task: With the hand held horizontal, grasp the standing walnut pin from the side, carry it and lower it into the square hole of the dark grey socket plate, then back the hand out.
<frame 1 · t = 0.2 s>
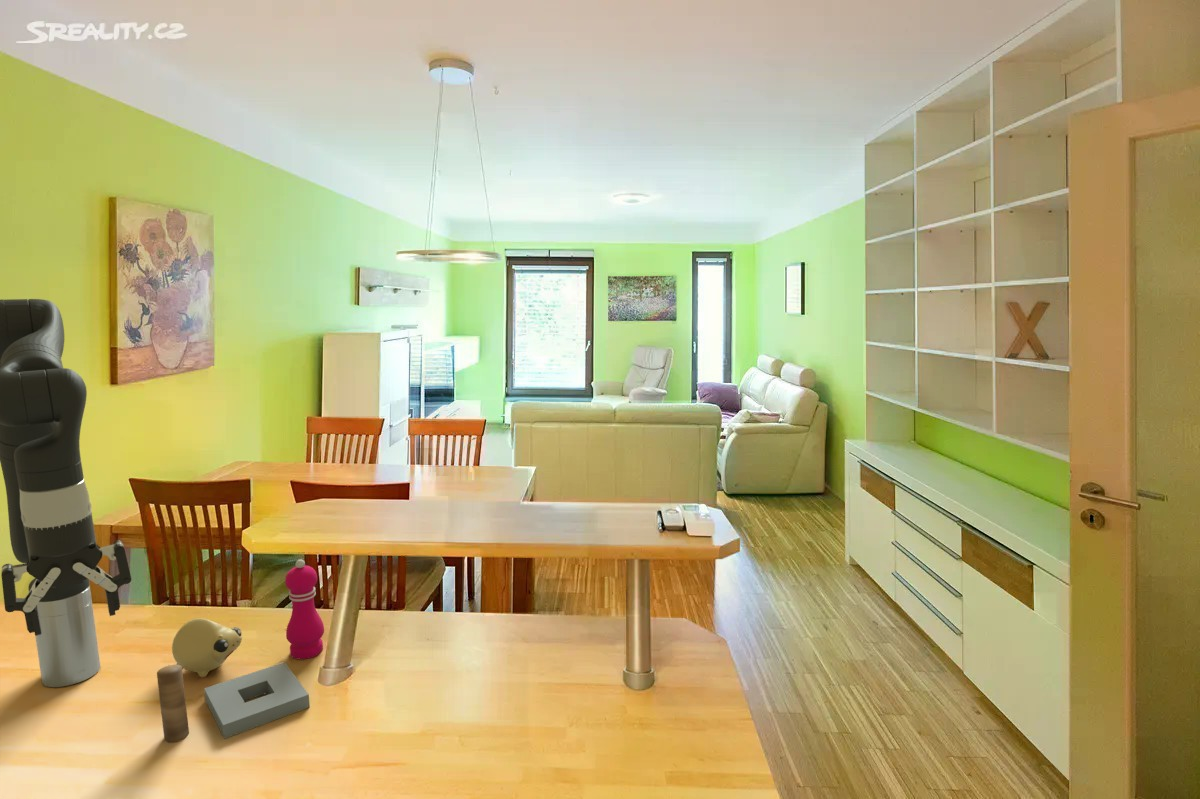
hand: (75, 623, 103), 28 cm above the kitchen counter, tool pointing down, fingers open, 8 cm apart
pin: (176, 735, 123), on the kitchen counter
beige animal figure: (209, 670, 143), on the kitchen counter
pepper mill: (306, 652, 150), on the kitchen counter
socket: (257, 703, 132), on the kitchen counter
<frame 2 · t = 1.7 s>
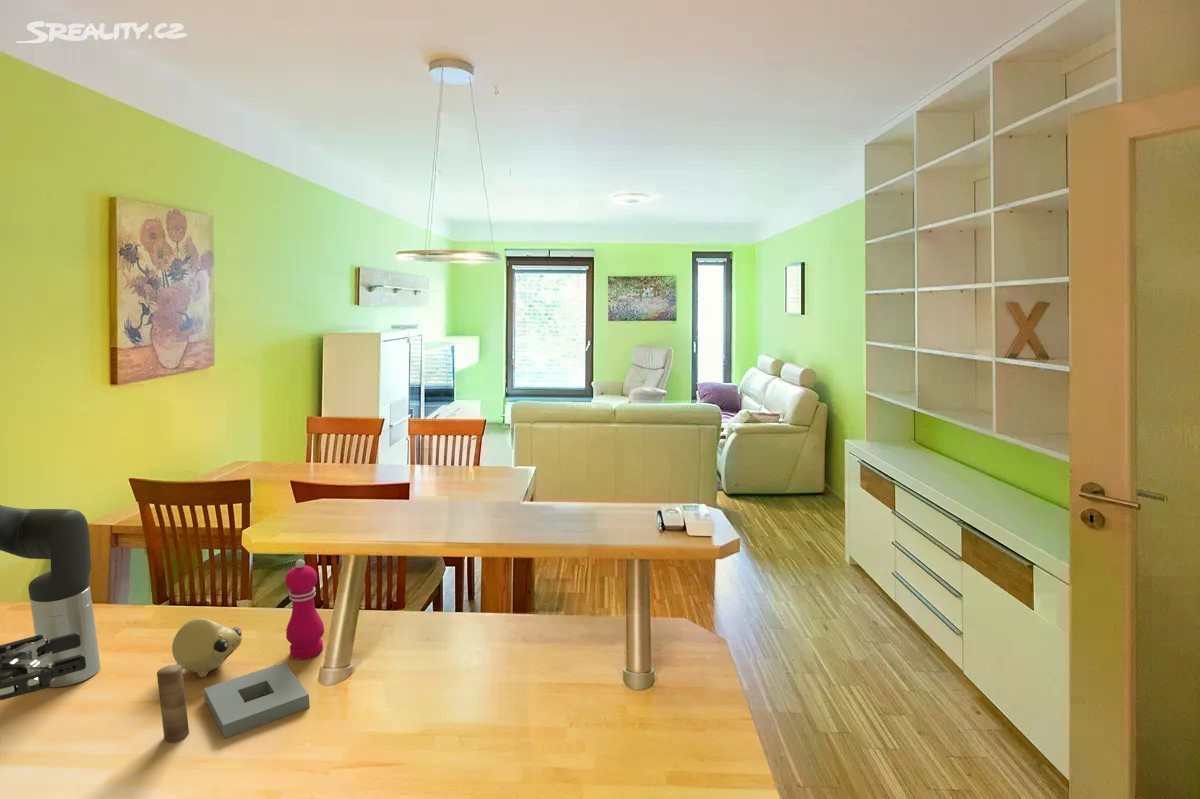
hand: (82, 649, 112), 20 cm above the kitchen counter, tool horizontal, fingers open, 8 cm apart
nothing on the kitchen counter moved.
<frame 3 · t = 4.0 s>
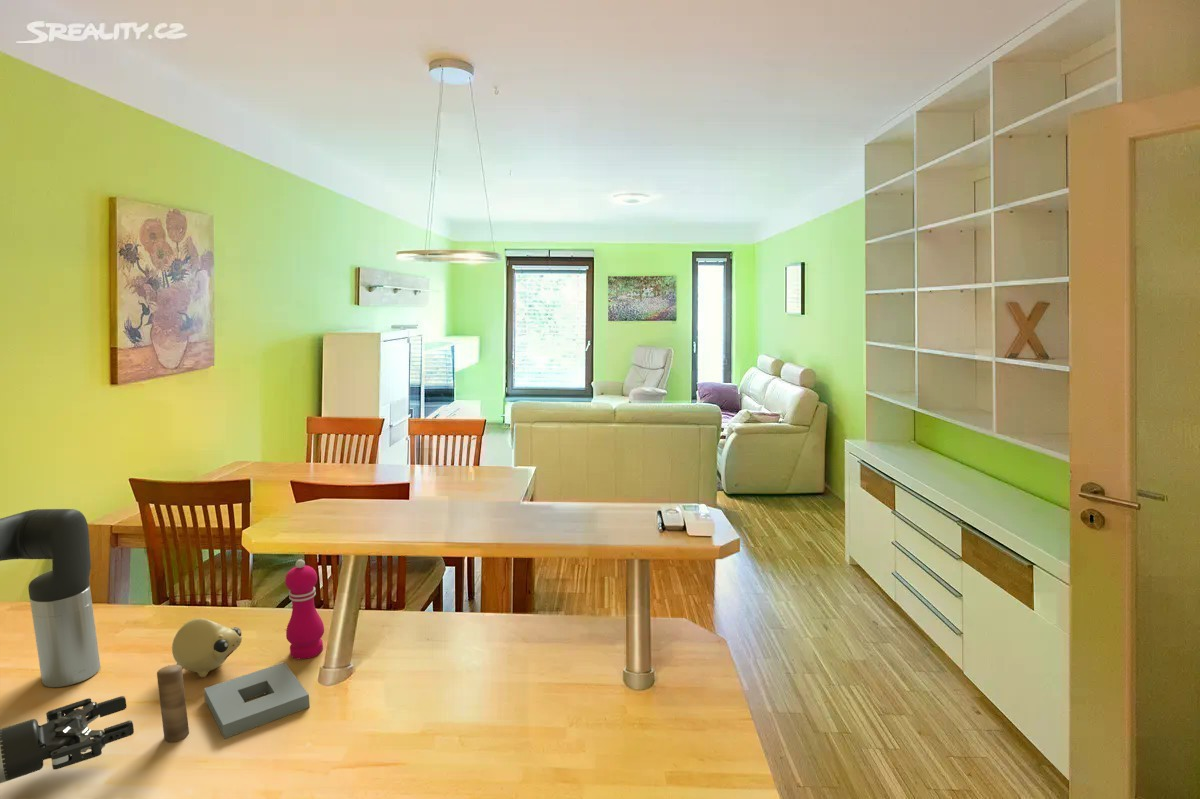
hand: (129, 714, 118), 7 cm above the kitchen counter, tool horizontal, fingers open, 8 cm apart
nothing on the kitchen counter moved.
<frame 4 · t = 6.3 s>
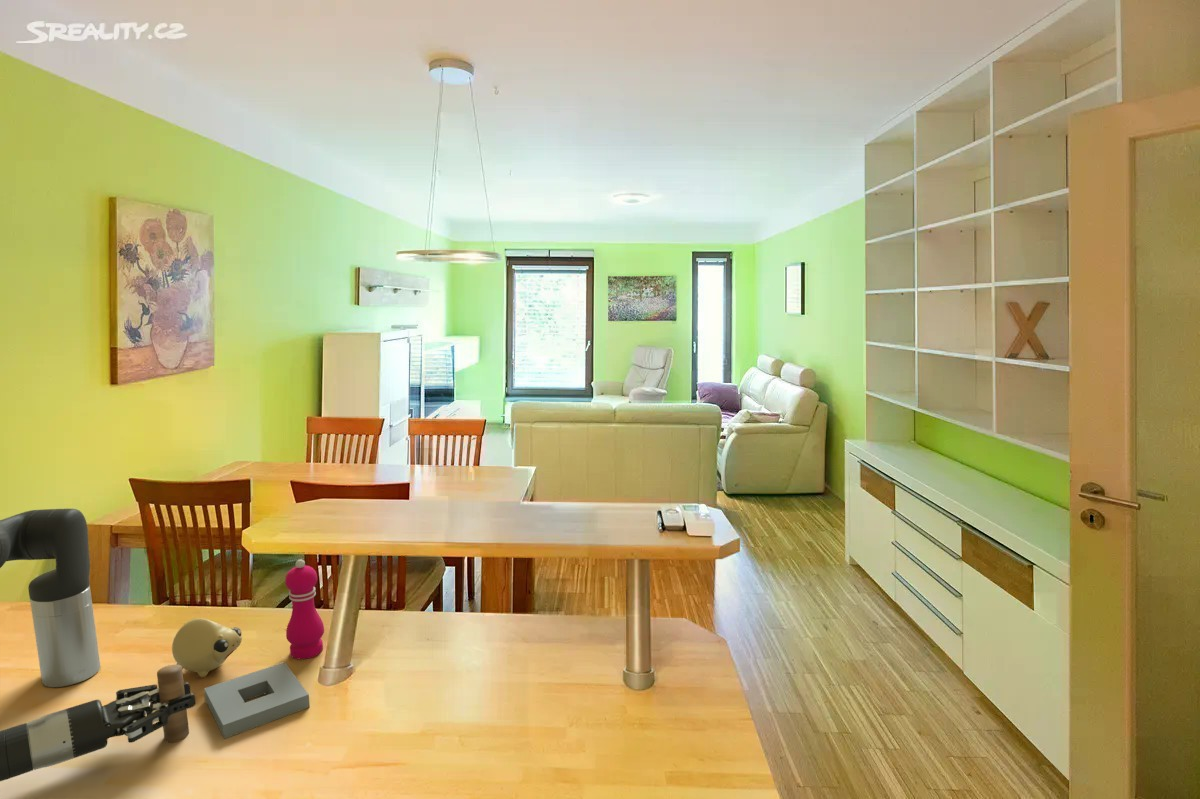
hand: (191, 693, 123), 7 cm above the kitchen counter, tool horizontal, fingers closed on pin, 3 cm apart
pin: (176, 735, 123), on the kitchen counter, touching gripper
everything else where it was.
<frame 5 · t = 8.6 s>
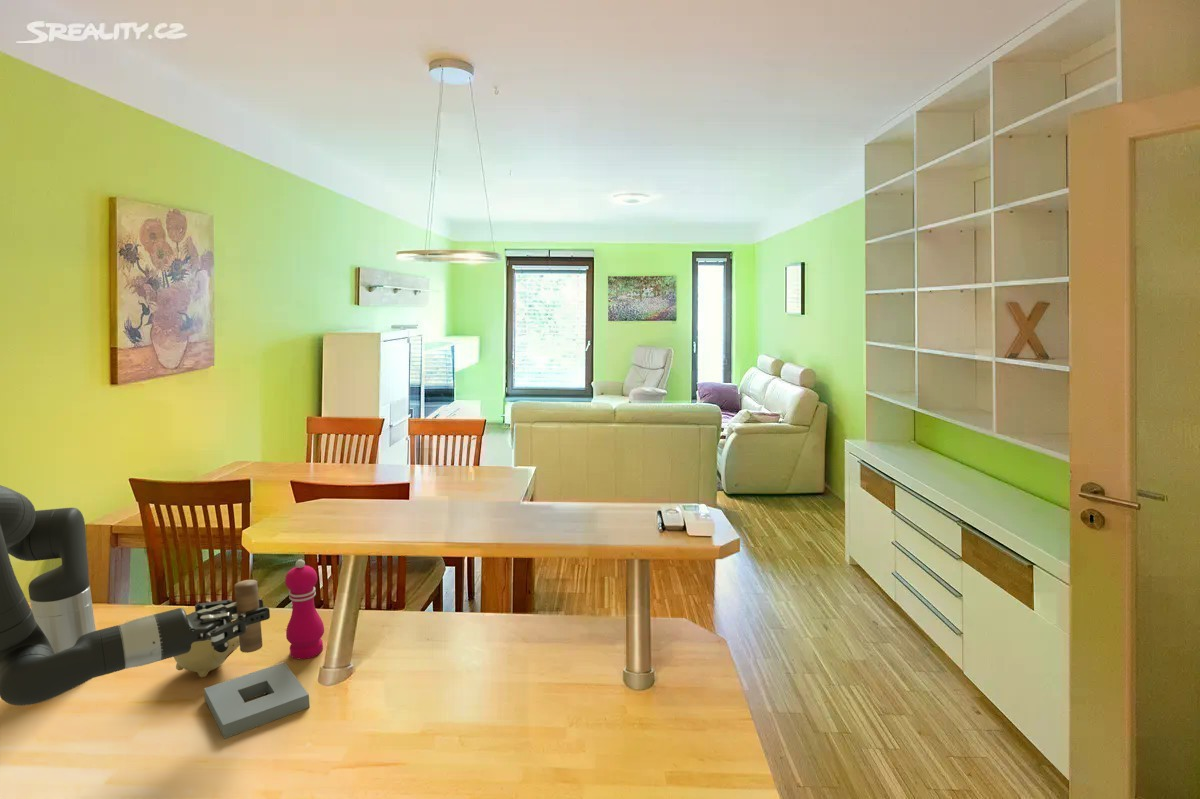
hand: (265, 608, 130), 18 cm above the kitchen counter, tool horizontal, fingers closed on pin, 3 cm apart
pin: (251, 647, 129), point 11 cm above the kitchen counter, touching gripper
everything else where it was.
when the fingers open (8 cm above the kitchen counter, at t = 11.2 s): pin drops 1 cm, resting in socket.
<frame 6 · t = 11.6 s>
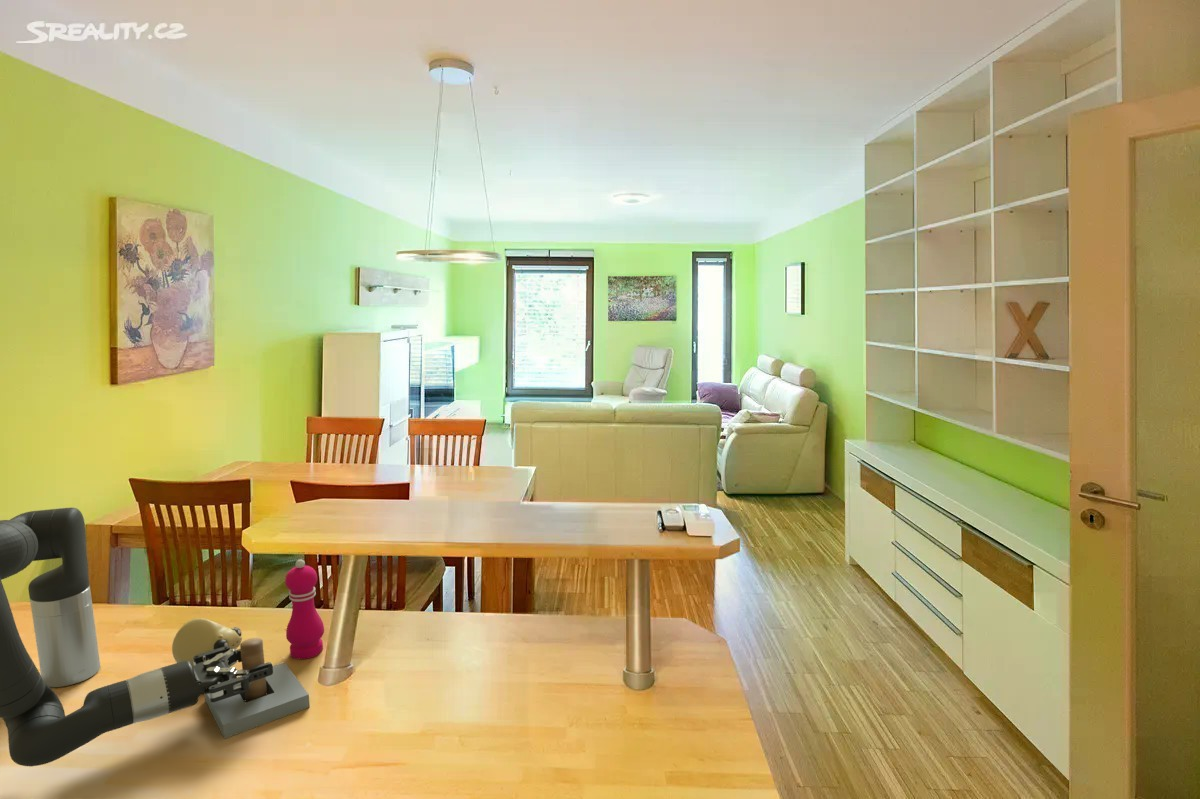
hand: (265, 658, 132), 8 cm above the kitchen counter, tool horizontal, fingers open, 7 cm apart
pin: (256, 704, 132), resting in socket
everything else where it was.
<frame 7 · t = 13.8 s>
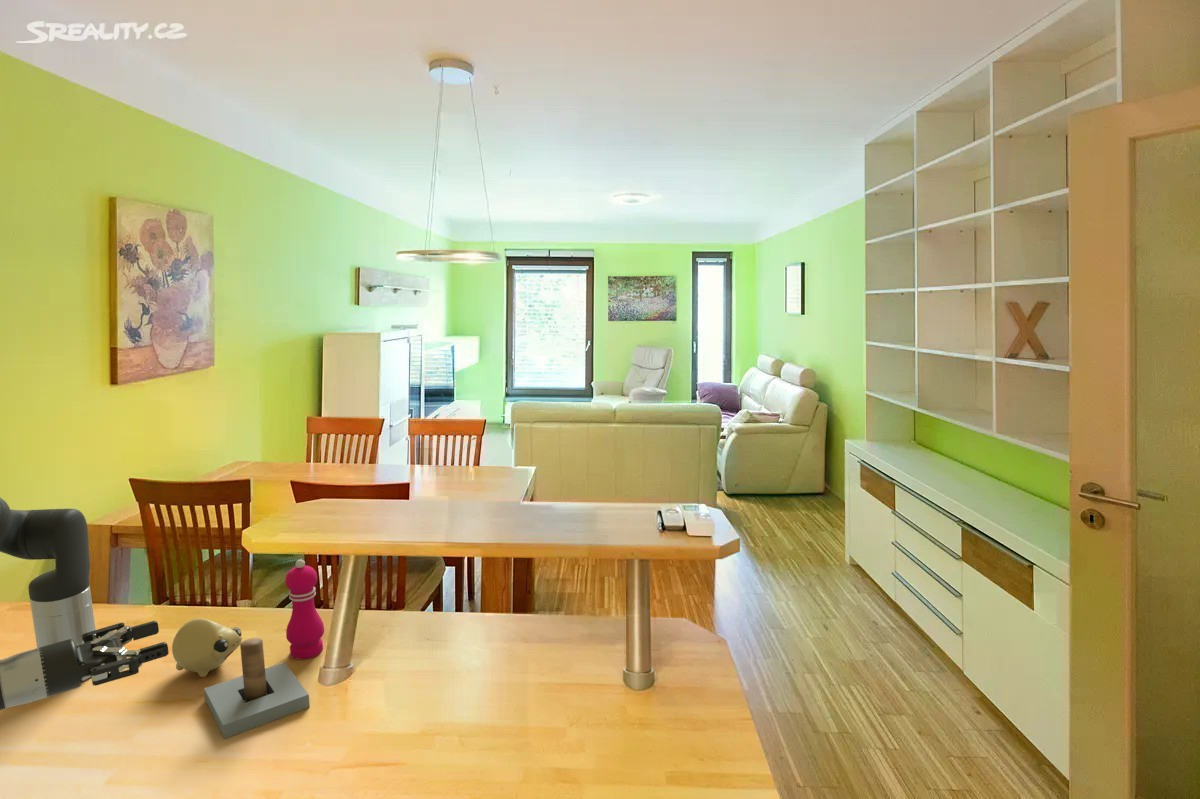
hand: (162, 637, 121), 17 cm above the kitchen counter, tool horizontal, fingers open, 8 cm apart
nothing on the kitchen counter moved.
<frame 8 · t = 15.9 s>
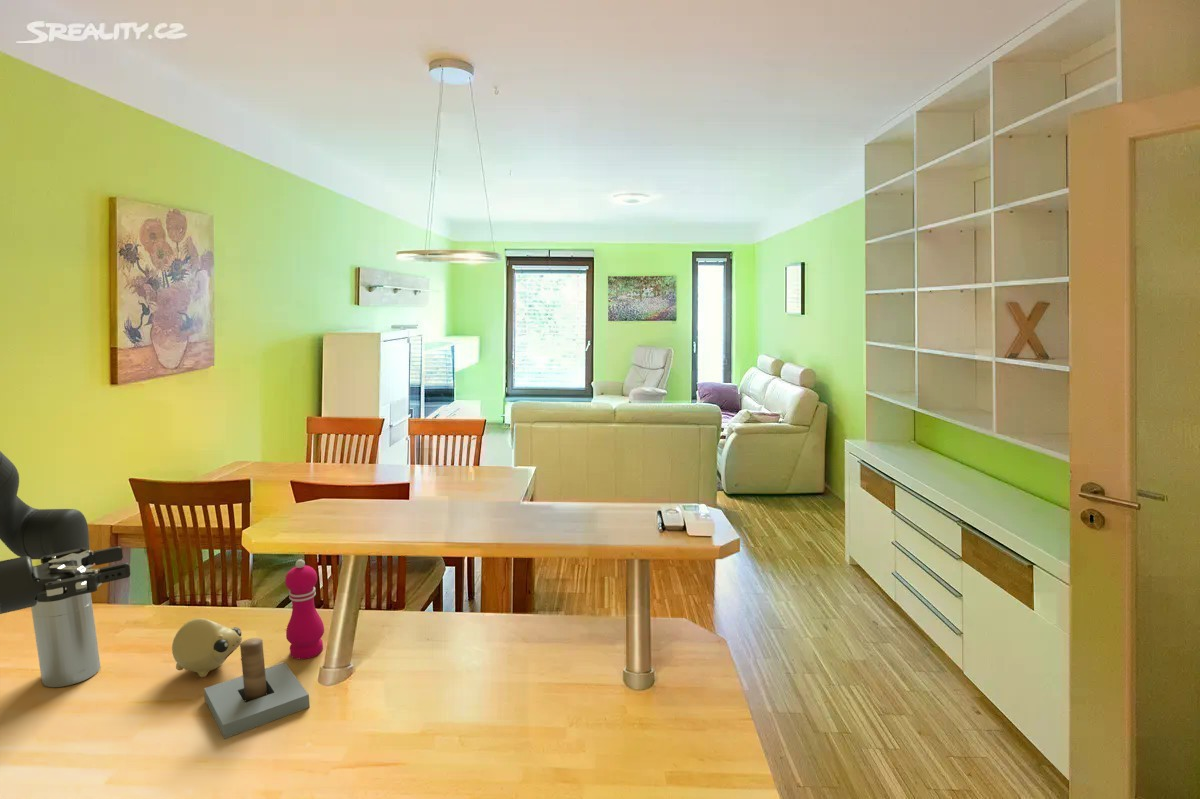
hand: (125, 560, 115), 32 cm above the kitchen counter, tool horizontal, fingers open, 8 cm apart
nothing on the kitchen counter moved.
at the end: pin 0.1 cm off-centre on the socket, point 0.0 cm above the socket's base; pin tilted 0°; the gripper is holding nothing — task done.
